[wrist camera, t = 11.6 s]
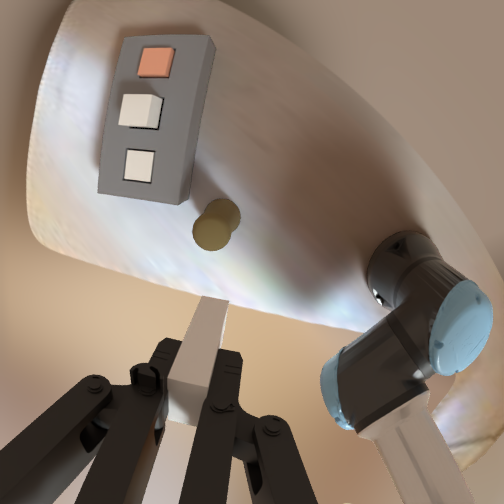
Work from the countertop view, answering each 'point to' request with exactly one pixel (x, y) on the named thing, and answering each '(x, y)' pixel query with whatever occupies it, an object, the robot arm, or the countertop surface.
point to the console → (172, 119)
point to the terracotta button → (156, 62)
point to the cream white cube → (140, 110)
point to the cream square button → (139, 165)
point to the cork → (216, 224)
